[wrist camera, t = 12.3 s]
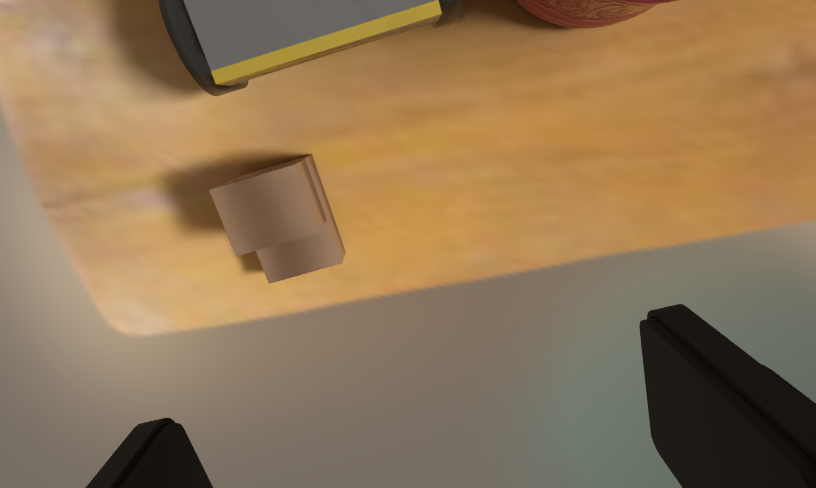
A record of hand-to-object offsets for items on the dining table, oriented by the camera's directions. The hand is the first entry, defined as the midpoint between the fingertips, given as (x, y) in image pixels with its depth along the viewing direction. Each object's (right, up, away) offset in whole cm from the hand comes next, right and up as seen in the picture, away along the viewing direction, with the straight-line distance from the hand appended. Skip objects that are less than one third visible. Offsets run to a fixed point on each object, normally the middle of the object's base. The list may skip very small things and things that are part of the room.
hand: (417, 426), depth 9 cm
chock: (-8, +6, +22) cm, 24 cm away
